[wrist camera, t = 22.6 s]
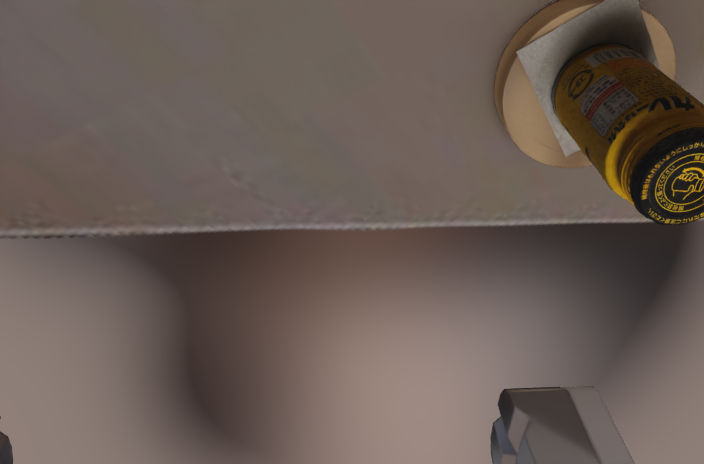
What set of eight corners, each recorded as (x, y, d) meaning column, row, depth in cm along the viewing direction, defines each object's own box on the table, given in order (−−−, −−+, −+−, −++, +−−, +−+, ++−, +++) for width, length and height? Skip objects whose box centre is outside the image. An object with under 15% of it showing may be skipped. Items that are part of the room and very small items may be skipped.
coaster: (482, 153, 46) (489, 168, 44) (509, -10, 40) (519, -1, 38) (633, 153, 47) (647, 168, 45) (683, -6, 41) (701, 4, 39)
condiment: (564, 155, 44) (642, 262, 34) (515, 50, 40) (588, 138, 30) (670, 100, 42) (785, 195, 32) (630, -16, 38) (748, 53, 28)
